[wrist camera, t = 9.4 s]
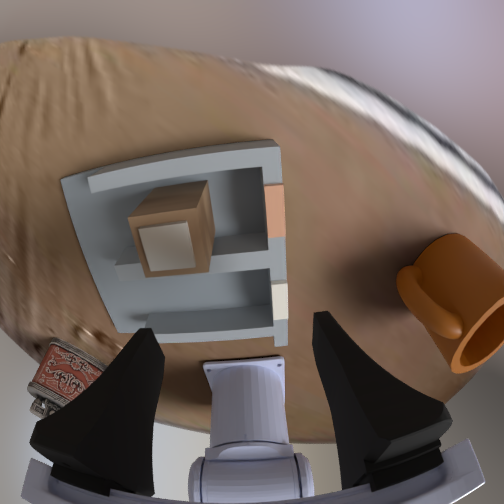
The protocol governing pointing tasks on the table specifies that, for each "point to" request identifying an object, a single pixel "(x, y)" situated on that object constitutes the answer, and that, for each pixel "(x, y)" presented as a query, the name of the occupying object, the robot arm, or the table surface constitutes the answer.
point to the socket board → (223, 253)
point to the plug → (174, 230)
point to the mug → (457, 300)
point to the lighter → (62, 377)
